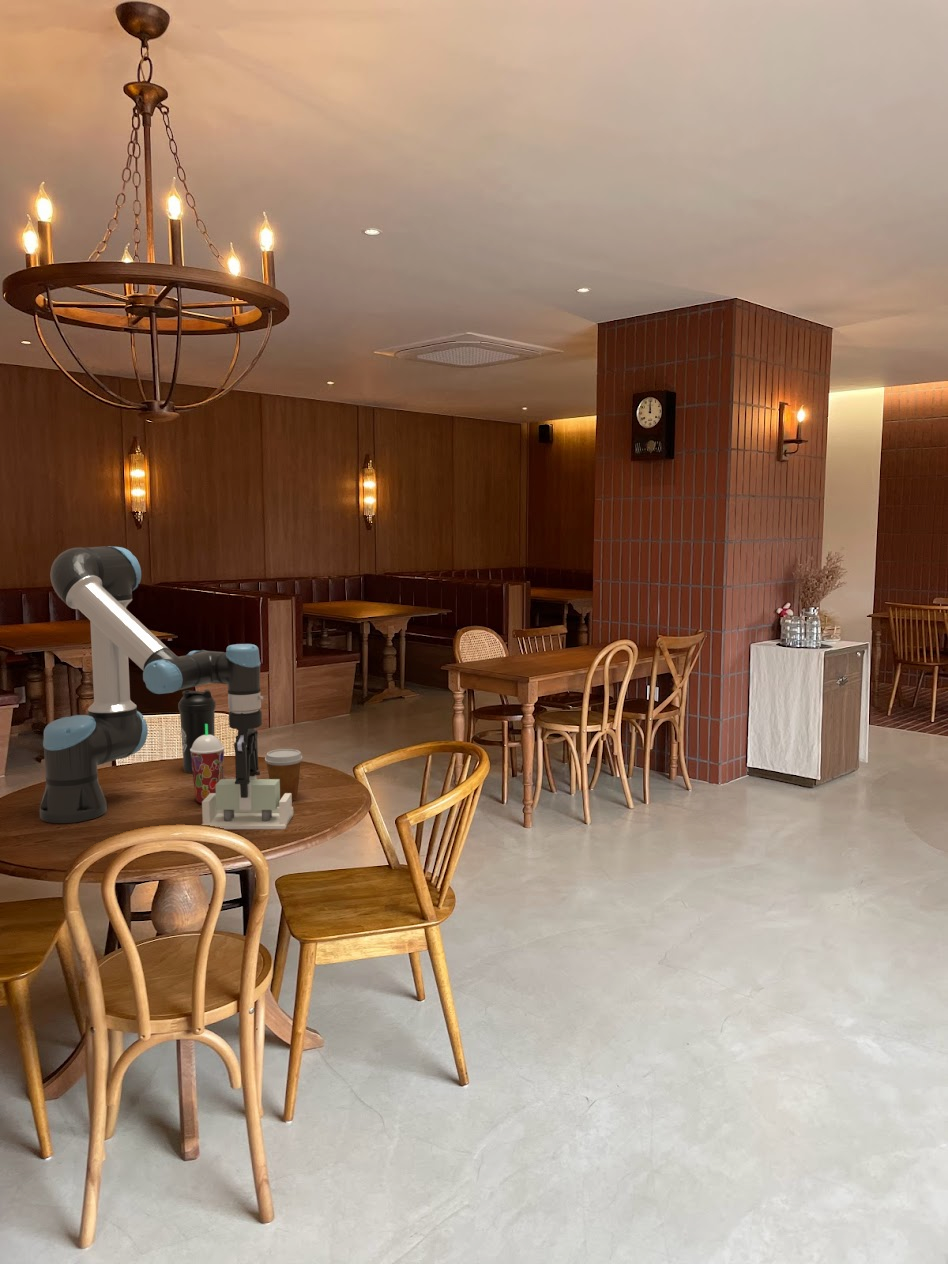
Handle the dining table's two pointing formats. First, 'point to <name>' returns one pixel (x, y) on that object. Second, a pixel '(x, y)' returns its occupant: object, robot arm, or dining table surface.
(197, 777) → the smoothie
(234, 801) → the shelf block
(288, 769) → the disposable coffee cup
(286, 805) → the peg cradle
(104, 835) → the dining table surface
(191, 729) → the water bottle
